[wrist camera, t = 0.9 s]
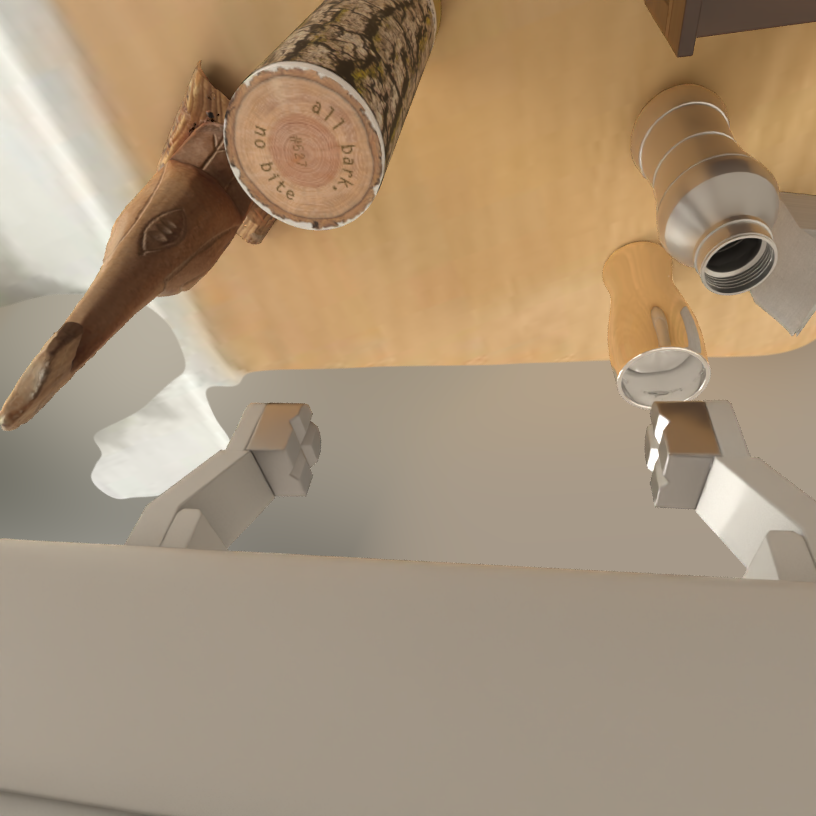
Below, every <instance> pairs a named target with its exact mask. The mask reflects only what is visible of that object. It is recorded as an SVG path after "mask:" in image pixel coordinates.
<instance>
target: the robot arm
mask: <svg viewBox="0 0 816 816" xmlns="http://www.w3.org/2000/svg"><path fill="white" fill-rule="evenodd" d="M312 415H313V413H312V411H311V409H310V407H309V405H307V404H301V403H300V404H299V403H250V404H249V405H248V406H247V407H246V409H245V411H244V413H243V415H242V417H241V419H240V421H239V423H238V425H237V427H236V429H235V432H234V434H233V436H232V438H231V440H230V442H229V444H228V446H227V448H226V450H220V451H218V452H217V453H216V454H214V455H213V456H212V457H210V458H209V459H208V460H206V461H205V462H204V463H202V464H201V465H200V466H198V467H197V468H196V469H194V470H193V471H192V472H190V473H189V474H188V475H186V476H185V477H184V478H182V479H181V480H180V481H178V482H177V483H176V484H174V485H173V486H172V487H170V488H169V489H168V490H166V491H165V492H164V493H162V494H161V495H160V496H158V497H157V498H156V499H154V500H153V501H152V502H150V503H149V504H148V505H146V507H145V509H144V511H143V512H142V514H141V516H140V518H139V519H138V521H137V523H136V525H135V527H134V528H133V530H132V532H131V534H130V535H129V537H128V539H127V541H126V543H125V544H124V545H111V544H91V543H73V542H54V541H35V540H18V539H5V538H0V816H816V501H815V500H814V499H812V498H811V497H810V496H808V495H807V494H806V493H805V492H803V491H802V490H801V489H799V488H798V487H797V486H795V485H794V484H793V483H792V482H790V481H789V480H788V479H786V478H785V477H784V476H782V475H781V474H780V473H778V472H777V471H776V470H774V469H773V468H772V467H771V466H769V465H768V464H767V463H765V462H764V461H763V460H761V459H760V458H759V457H751V456H750V453H749V451H748V448H747V445H746V442H745V440H744V437H743V434H742V431H741V429H740V426H739V423H738V420H737V418H736V415H735V412H734V410H733V407H732V404H731V403H730V402H729V401H728V400H707V401H654V402H653V404H652V406H651V411H650V417H651V422H652V424H650V425H649V426H648V427H647V430H646V436H645V458H646V464H647V468H649V469H650V470H651V471H652V472H653V473H652V477H651V481H650V485H651V490H652V495H653V500H654V505H655V507H660V508H678V509H696V512H697V513H698V515H699V516H700V517H701V518H702V519H703V520H704V521H705V522H706V523H707V525H708V526H709V527H710V528H711V529H712V530H713V531H714V532H715V533H716V535H717V536H718V537H719V538H720V539H721V540H722V541H723V542H724V543H725V544H726V546H727V547H728V548H729V549H730V550H731V551H732V552H733V553H734V554H735V556H736V557H737V558H738V559H739V560H740V561H741V562H742V563H743V564H744V566H745V567H746V568H747V571H746V572H745V575H744V576H743V578H728V577H709V576H691V575H673V574H653V573H636V572H635V573H634V572H616V571H598V570H578V569H577V570H576V569H559V568H541V567H521V566H502V565H484V564H482V565H481V564H465V563H447V562H446V563H445V562H427V561H410V560H409V561H408V560H391V559H372V558H354V557H336V556H335V557H334V556H316V555H297V554H279V553H259V552H242V551H229V550H228V549H227V548H228V547H229V546H230V545H231V544H232V543H233V542H234V541H235V540H236V539H237V537H238V536H239V535H240V534H241V533H242V532H243V531H244V530H245V529H246V528H247V527H248V526H249V525H250V524H251V523H252V522H253V521H254V520H255V519H256V518H257V517H258V515H260V513H261V512H262V511H263V510H264V509H265V508H266V507H267V506H268V505H269V504H270V503H271V502H272V501H273V500H274V499H275V496H306V495H307V492H308V489H309V486H310V483H311V480H312V477H313V474H312V472H311V470H310V468H311V467H312V466H313V465H314V464H315V463H317V462H318V459H319V455H320V451H321V450H320V449H321V437H320V432H319V429H318V426H316V425H315V424H314V423H313V422H311V421H310V420H311V417H312Z"/></svg>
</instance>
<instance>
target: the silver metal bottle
mask: <svg viewBox="0 0 816 816" xmlns="http://www.w3.org/2000/svg"><path fill="white" fill-rule="evenodd" d="M631 156H632V159H633V162H634V164H635V166H636V167H637V169H638V170H639V171H640V173H641V174H642V175H643V177H644V178H646V179H647V180H648V182H649V183H650V185H651V187H652V188H653V191H654V196H655V200H656V214H657V229H658V234H659V239H660V242H661V244H662V246H663V248H664V249H665V250H666V252H667V253H668V254H669V255H671V256H672V257H673V258H675V259H676V260H677V261H678V262H680V263H682V264H684V265H686V266H689V267H693V268H695V269H696V271H697V273H698V274H699V275H700V278H701V280H702V283H703V284H704V285H705V287H706V288H707V289H708V290H710V291H711V292H713V293H716V294H720V295H736V294H740V293H744V292H746V291H749V290H751V289H753V288H755V287H756V286H758V285H759V284H761V283H762V282H763V281H764V280H765V279H766V278H767V277H769V275H770V274H771V273H772V271H773V270H774V268H775V266H776V263H777V259H778V252H777V247H776V245H775V243H774V241H773V236H772V232H771V230H772V228H773V226H774V224H775V222H776V220H777V216H778V212H779V188H778V184H777V181H776V180H775V178H774V176H773V175H772V173H771V172H770V171H769V170H768V169H767V168H766V167H765V166H764V165H762V164H761V163H760V162H759V161H757V160H756V159H755V158H753V157H752V156H750V155H749V154H748V153H746V152H745V151H744V150H743V149H742V148H741V147H740V146H739V145H738V144H737V143H736V141H735V140H734V138H733V136H732V133H731V131H730V124H729V118H728V114H727V111H726V107H725V105H724V103H723V101H722V100H721V98H720V97H719V96H718V95H717V94H716V93H715V92H713V91H711V90H709V89H707V88H705V87H703V86H700V85H695V84H681V85H677V86H673V87H671V88H668V89H666V90H664V91H663V92H661V93H659V94H658V95H656V96H655V97H654V98H653V99H652V100H650V101H649V102H648V103H647V105H646V106H645V107H644V108H643V109H642V111H641V112H640V114H639V115H638V117H637V119H636V122H635V124H634V127H633V131H632V136H631Z"/></svg>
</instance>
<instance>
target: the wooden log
mask: <svg viewBox="0 0 816 816" xmlns="http://www.w3.org/2000/svg"><path fill="white" fill-rule="evenodd" d="M440 21H441V0H325V1H324V2H323V3H322V4H321V5H320V6H319V7H318V8H317V9H316V10H315V11H314V12H313V13H312V14H311V15H310V16H309V17H308V18H307V19H306V20H305V21H304V22H303V23H302V24H301V25H300V26H299V27H298V28H297V29H296V30H294V31H293V32H292V33H291V34H290V35H289V36H288V37H287V38H286V39H285V40H284V41H283V42H282V43H281V44H280V45H279V46H278V47H277V48H276V49H275V50H274V51H273V52H272V53H271V54H270V55H269V56H268V57H267V58H266V59H265V60H264V61H263V62H262V63H261V64H260V65H259V66H258V67H257V68H256V69H255V70H254V71H253V72H252V73H251V74H250V75H249V76H248V77H247V78H246V79H245V80H244V81H243V82H242V84H241V85H240V86H239V88H238V89H237V90H236V92H235V93H234V95H233V96H232V98H231V100H230V102H229V105H228V107H227V110H226V114H225V119H224V130H223V135H224V145H225V151H226V154H227V158H228V161H229V164H230V167H231V169H232V171H233V173H234V175H235V177H236V179H237V180H238V182H239V184H240V185H241V187H242V188H243V190H244V191H245V192H246V193H247V195H248V196H249V197H250V198H251V199H252V200H253V201H254V202H255V203H256V204H257V205H258V206H259V207H260V208H262V209H263V210H264V211H266V212H267V213H268V214H270V215H271V216H273V217H274V218H276V219H278V220H280V221H282V222H284V223H286V224H289V225H292V226H295V227H298V228H302V229H308V230H329V229H334V228H338V227H341V226H344V225H346V224H348V223H350V222H352V221H354V220H355V219H357V218H358V217H359V216H360V215H361V214H363V213H364V212H365V211H366V209H367V208H368V207H369V206H370V204H371V203H372V201H373V200H374V198H375V196H376V194H377V192H378V190H379V188H380V185H381V183H382V180H383V178H384V175H385V172H386V170H387V167H388V164H389V162H390V159H391V156H392V154H393V151H394V148H395V146H396V143H397V140H398V138H399V135H400V132H401V130H402V127H403V124H404V122H405V119H406V116H407V114H408V111H409V108H410V106H411V103H412V100H413V98H414V95H415V92H416V90H417V87H418V84H419V82H420V79H421V77H422V74H423V71H424V69H425V66H426V63H427V61H428V58H429V55H430V53H431V50H432V47H433V44H434V41H435V38H436V36H437V33H438V30H439V26H440Z"/></svg>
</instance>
